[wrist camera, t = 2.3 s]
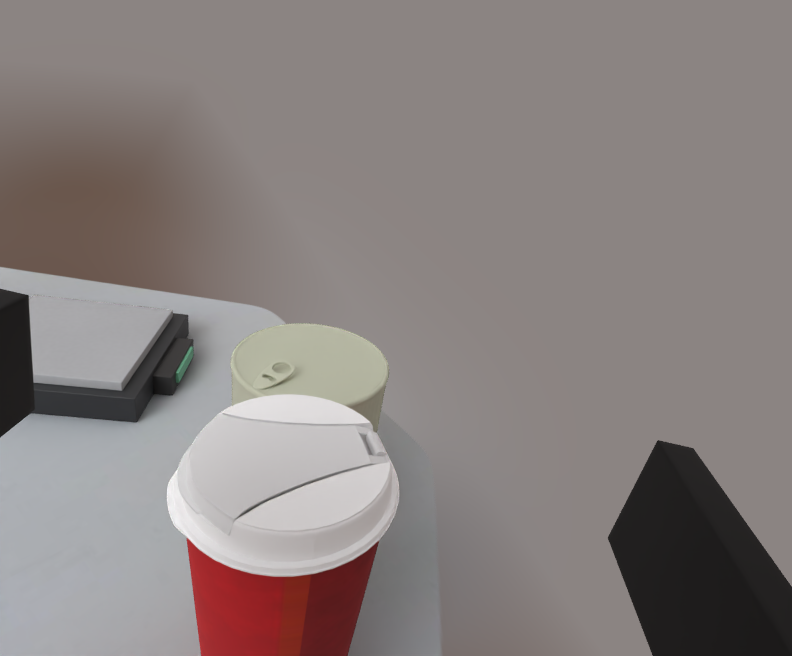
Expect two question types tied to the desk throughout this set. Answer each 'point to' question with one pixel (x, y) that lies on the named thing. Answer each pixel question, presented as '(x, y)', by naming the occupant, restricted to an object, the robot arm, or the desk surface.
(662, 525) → the robot arm
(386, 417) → the desk surface
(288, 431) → the coffee cup
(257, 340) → the can
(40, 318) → the scale
